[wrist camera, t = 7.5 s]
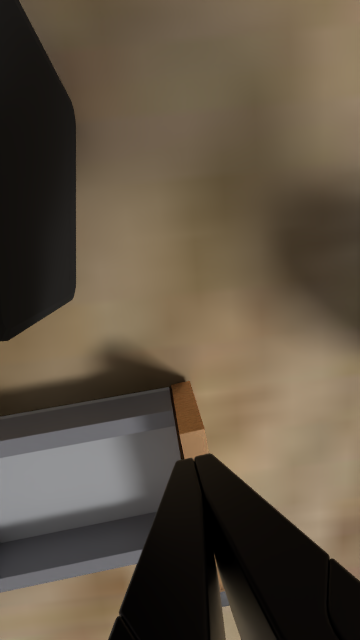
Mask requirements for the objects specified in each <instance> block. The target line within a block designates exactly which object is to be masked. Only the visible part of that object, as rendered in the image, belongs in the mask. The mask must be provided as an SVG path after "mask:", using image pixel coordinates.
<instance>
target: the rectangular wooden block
mask: <svg viewBox="0 0 360 640" xmlns="http://www.w3.org/2000/svg"><path fill="white" fill-rule="evenodd" d="M171 386H172V392H173V398H174V404H175V410H176V416H177V423H178V429H179V435H180V439H181V444H182V449H183V454H184V458H185V459H187V458H193V459H194V458H195V457H196V456H199V455H204V454H208V453H209V451H208V445H207V440H206V435H205V429H204V426H203V423H202V419H201V416H200V413H199V410H198V407H197V403H196V400H195V397H194V394H193V390H192V387H191V384H190V381H187V382H182V383H177V384H173V385H171ZM214 557H215V556H214ZM215 562H216V560H215ZM216 567H217V564H216ZM217 573H218V580H219V588H220V596H221V604H222V607H224V606H229V602H228V599H227V596H226V593H225V590H224V587H223V584H222V581H221V578H220V575H219V571H218V568H217Z"/></svg>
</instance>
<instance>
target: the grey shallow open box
mask: <svg viewBox="0 0 360 640" xmlns="http://www.w3.org/2000/svg"><path fill="white" fill-rule="evenodd" d="M178 460H181V457H180V451H179V445H178V438H177V432H176V426H175V420H174V414H173V408H172V402H171V396H170V390H169V387H166V388H161V389H155V390H149V391H144V392H138V393H132V394H127V395H121V396H115V397H109V398H104V399H98V400H92V401H87V402H81V403H75V404H70V405H64V406H58V407H52V408H47V409H41V410H35V411H30V412H24V413H18V414H13V415H7V416H1V417H0V592H5V591H10V590H15V589H19V588H24V587H29V586H34V585H38V584H43V583H48V582H53V581H57V580H62V579H67V578H72V577H76V576H81V575H86V574H90V573H95V572H100V571H105V570H109V569H114V568H119V567H124V566H128V565H133V564H137V563H138V560H139V557H140V555H141V552H142V549H143V547H144V544H145V541H146V539H147V536H148V533H149V531H150V528H151V525H152V523H153V520H154V518H155V515H156V512H157V510H158V507H159V504H160V502H161V499H162V496H163V494H164V491H165V488H166V486H167V483H168V480H169V478H170V475H171V472H172V470H173V467H174V465H175V462H176V461H178Z"/></svg>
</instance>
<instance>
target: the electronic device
mask: <svg viewBox="0 0 360 640" xmlns="http://www.w3.org/2000/svg"><path fill="white" fill-rule="evenodd" d="M75 288H76V125H75V115H74V109H73V106H72V102H71V100H70V98H69V96H68V94H67V92H66V90H65V88H64V86H63V85H62V83H61V81H60V79H59V77H58V75H57V73H56V71H55V69H54V67H53V65H52V63H51V61H50V60H49V58H48V56H47V54H46V52H45V50H44V48H43V46H42V44H41V42H40V40H39V38H38V36H37V35H36V33H35V31H34V29H33V27H32V25H31V23H30V21H29V19H28V17H27V15H26V13H25V12H24V10H23V8H22V6H21V4H20V2H19V0H0V341H8V340H10V339H11V338H13V337H15V336H16V335H18V334H19V333H21V332H22V331H24V330H25V329H27V328H29V327H30V326H32V325H33V324H35V323H36V322H38V321H40V320H41V319H43V318H44V317H46V316H47V315H49V314H51V313H52V312H54V311H55V310H57V309H58V308H60V307H62V306H63V305H65V304H66V303H68V302H69V301H71V300H72V299H73V297H74V293H75Z"/></svg>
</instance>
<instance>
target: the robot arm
mask: <svg viewBox="0 0 360 640" xmlns="http://www.w3.org/2000/svg"><path fill="white" fill-rule="evenodd" d="M214 556H215V557H214ZM215 560H216V562H215ZM216 564H217V567H216ZM217 568H218V571H219V575H220V578H221V581H222V584H223V587H224V590H225V593H226V596H227V599H228V602H229V605H230V608H231V611H232V614H233V617H234V620H235V622H236V625H237V628H238V631H239V634H240V637H241V640H360V581H359V580H358V579H357V578H355V577H354V576H353V575H352V574H351V573H349V572H348V571H347V570H346V569H345V568H344V567H343V566H341V565H340V564H339V563H338V562H337V561H336V560H335V559H330V557H329V555H328V554H327V553H326V552H325V551H324V550H323V549H321V548H320V547H319V546H318V545H317V544H316V543H315V542H313V541H312V540H311V539H310V538H309V537H308V536H306V535H305V534H304V533H303V532H302V531H301V530H299V529H298V528H297V527H296V526H295V525H294V524H292V523H291V522H290V521H289V520H288V519H287V518H286V517H284V516H283V515H282V514H281V513H280V512H279V511H277V510H276V509H275V508H274V507H273V506H272V505H270V504H269V503H268V502H267V501H266V500H265V499H263V498H262V497H261V496H260V495H259V494H258V493H257V492H255V491H254V490H253V489H252V488H251V487H250V486H248V485H247V484H246V483H245V482H244V481H243V480H241V479H240V478H239V477H238V476H237V475H236V474H235V473H233V472H232V471H231V470H230V469H229V468H228V467H226V466H225V465H224V464H223V463H222V462H221V461H219V460H218V459H217V458H216V457H215V456H214V455H212V454H210V453H208V454H204V455H199V456H196V457H195V458H194V459H193V458H187V459H182V460H178V461H176V462H175V465H174V467H173V470H172V472H171V475H170V478H169V480H168V483H167V486H166V488H165V491H164V494H163V496H162V499H161V502H160V504H159V507H158V510H157V512H156V515H155V518H154V520H153V523H152V525H151V528H150V531H149V533H148V536H147V539H146V541H145V544H144V547H143V549H142V552H141V555H140V557H139V560H138V563H137V565H136V568H135V571H134V573H133V576H132V578H131V581H130V584H129V586H128V589H127V592H126V594H125V597H124V600H123V602H122V605H121V608H120V610H119V615H120V616H118V617H117V618H116V620H115V623H114V626H113V628H112V631H111V634H110V636H109V639H108V640H226V638H225V630H224V621H223V613H222V604H221V596H220V588H219V580H218V573H217Z"/></svg>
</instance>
